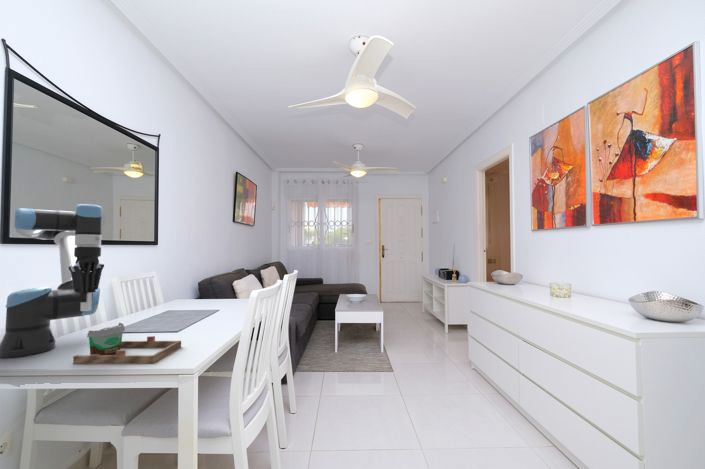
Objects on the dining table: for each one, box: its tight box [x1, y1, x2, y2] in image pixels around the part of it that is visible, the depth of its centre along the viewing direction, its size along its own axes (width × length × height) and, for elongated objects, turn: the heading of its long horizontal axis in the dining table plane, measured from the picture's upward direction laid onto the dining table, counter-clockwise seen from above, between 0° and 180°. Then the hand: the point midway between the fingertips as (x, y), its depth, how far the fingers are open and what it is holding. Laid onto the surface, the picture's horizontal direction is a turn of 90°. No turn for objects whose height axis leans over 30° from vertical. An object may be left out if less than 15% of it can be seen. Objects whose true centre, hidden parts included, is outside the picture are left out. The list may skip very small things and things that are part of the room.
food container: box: [86, 322, 126, 355], centre depth 112 cm, size 12×6×10 cm, turn 168°
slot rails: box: [72, 335, 182, 365], centre depth 112 cm, size 27×17×4 cm, turn 91°
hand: (85, 310), depth 113 cm, fingers closed
